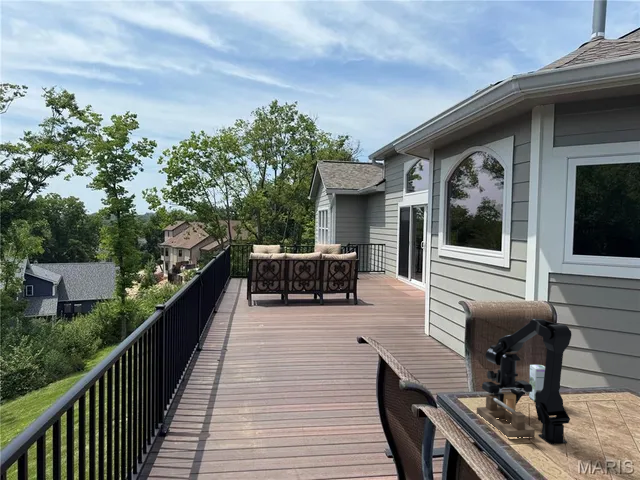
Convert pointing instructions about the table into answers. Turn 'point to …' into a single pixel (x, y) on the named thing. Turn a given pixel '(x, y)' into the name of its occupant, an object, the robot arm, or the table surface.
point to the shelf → (516, 418)
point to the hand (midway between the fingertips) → (506, 408)
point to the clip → (509, 400)
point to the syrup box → (536, 379)
